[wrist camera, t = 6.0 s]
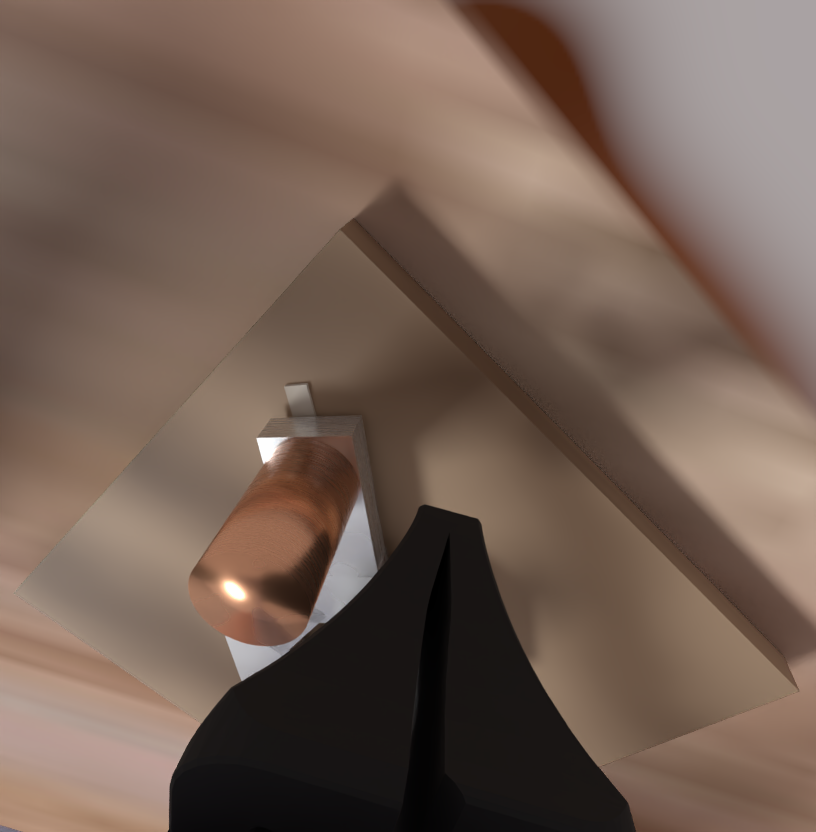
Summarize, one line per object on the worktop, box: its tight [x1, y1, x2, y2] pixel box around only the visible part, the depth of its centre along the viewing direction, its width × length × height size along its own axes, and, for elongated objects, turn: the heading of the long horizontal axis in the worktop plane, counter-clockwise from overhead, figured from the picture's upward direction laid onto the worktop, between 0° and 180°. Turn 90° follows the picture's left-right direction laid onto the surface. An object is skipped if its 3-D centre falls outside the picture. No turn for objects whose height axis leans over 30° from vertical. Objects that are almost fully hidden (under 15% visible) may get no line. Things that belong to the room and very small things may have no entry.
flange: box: [188, 415, 388, 681], centre depth 16 cm, size 12×8×5 cm, turn 7°
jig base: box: [14, 218, 799, 767], centre depth 18 cm, size 18×18×6 cm
